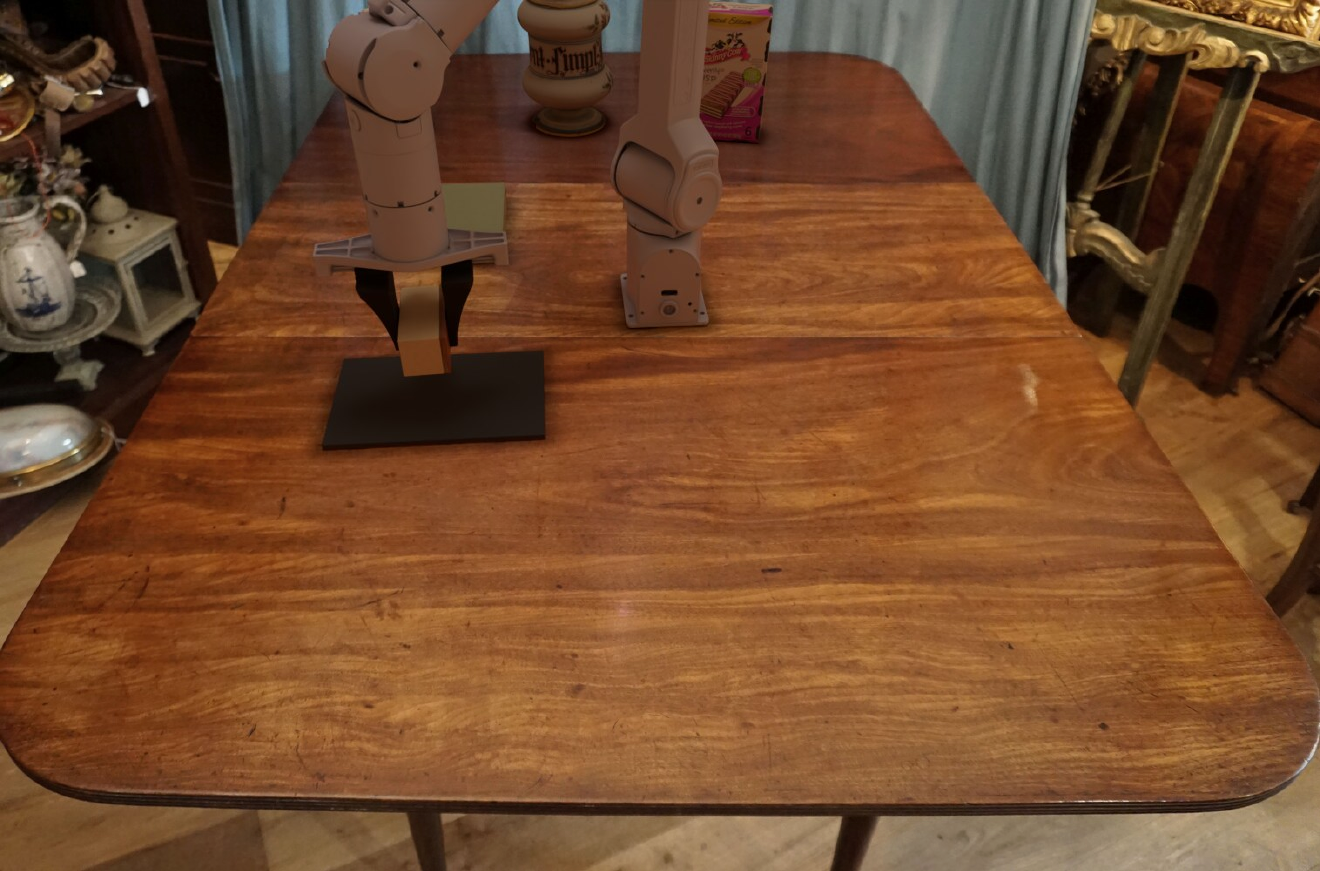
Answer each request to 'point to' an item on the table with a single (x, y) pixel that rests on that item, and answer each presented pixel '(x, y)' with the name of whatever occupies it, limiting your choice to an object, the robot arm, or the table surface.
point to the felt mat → (438, 402)
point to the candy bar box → (735, 70)
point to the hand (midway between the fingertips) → (427, 341)
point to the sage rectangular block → (476, 206)
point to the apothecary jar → (566, 63)
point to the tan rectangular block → (423, 331)
